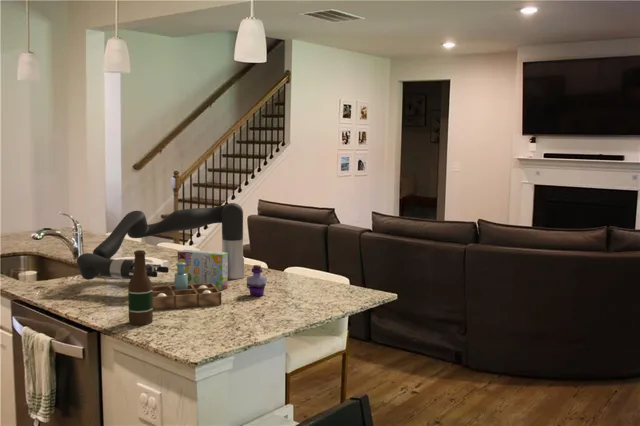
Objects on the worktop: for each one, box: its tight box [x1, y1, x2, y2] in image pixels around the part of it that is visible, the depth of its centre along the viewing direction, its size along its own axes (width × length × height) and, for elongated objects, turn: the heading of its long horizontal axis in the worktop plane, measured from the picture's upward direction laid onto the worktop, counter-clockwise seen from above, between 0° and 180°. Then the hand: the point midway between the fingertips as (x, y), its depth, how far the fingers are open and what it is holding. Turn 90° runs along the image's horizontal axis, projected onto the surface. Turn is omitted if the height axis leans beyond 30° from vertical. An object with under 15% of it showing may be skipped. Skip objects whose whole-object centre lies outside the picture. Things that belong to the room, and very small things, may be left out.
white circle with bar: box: [100, 256, 170, 279], centre depth 277 cm, size 28×28×5 cm
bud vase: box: [174, 262, 188, 290], centre depth 228 cm, size 5×5×13 cm
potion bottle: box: [246, 264, 268, 298], centre depth 236 cm, size 9×9×12 cm
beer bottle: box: [127, 249, 154, 327], centre depth 196 cm, size 8×8×24 cm
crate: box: [152, 283, 222, 311], centre depth 225 cm, size 25×17×5 cm
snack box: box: [177, 249, 229, 291], centre depth 248 cm, size 21×6×15 cm, turn 71°
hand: (162, 272), depth 230 cm, fingers open, 8 cm apart
